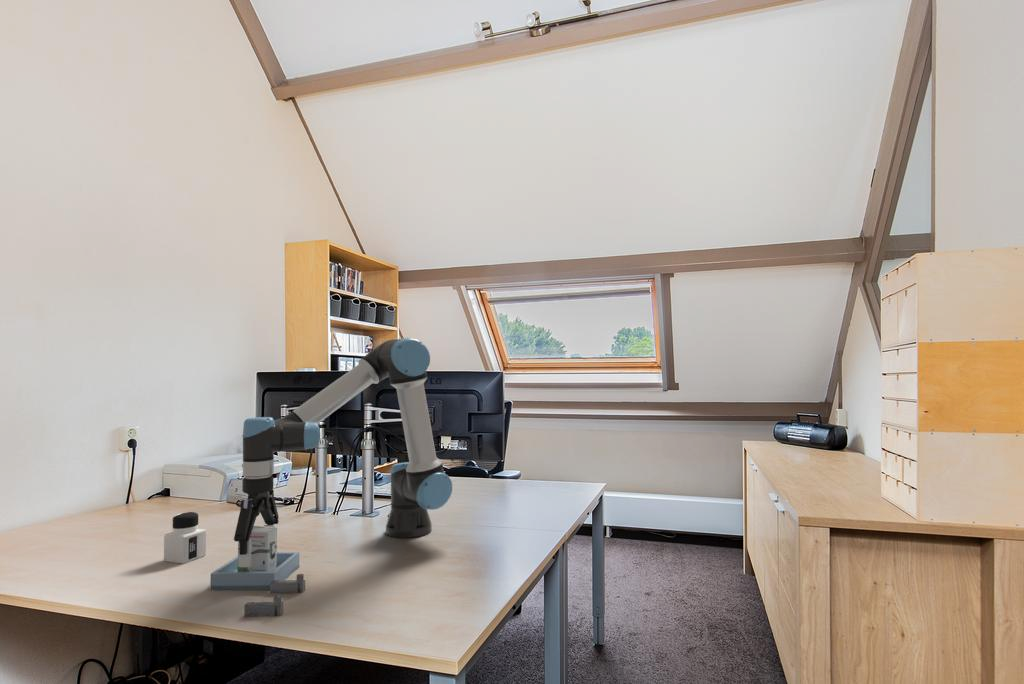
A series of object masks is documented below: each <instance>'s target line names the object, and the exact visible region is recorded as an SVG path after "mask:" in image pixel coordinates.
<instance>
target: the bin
mask: <svg viewBox="0 0 1024 684" xmlns="http://www.w3.org/2000/svg"><path fill="white" fill-rule="evenodd" d="M237 569H238V555H236V556H235V557H233V558H232V559H231V560H229V561H228V562H226V563H224V564H223V565H221V566H220V567H218V568H217V569H215V570H214V571H212V572H211V573H210V591H243V590H244V591H248V590H249V591H251V590H253V591H255V590H256V591H257V590H258V591H259V590H260V591H261V590H262V591H263V590H270V583H271V582H272V581H273V580H286V579H288V578H289V577H290V576H291V575H292V574H293V573H294V572H295V571H297V570H298V569H300V551H291V552H289V551H288V552H287V551H285V552H284V551H279V552H278V551H277V564H276V569H275V570H274V571H272V572H237Z"/></svg>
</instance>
